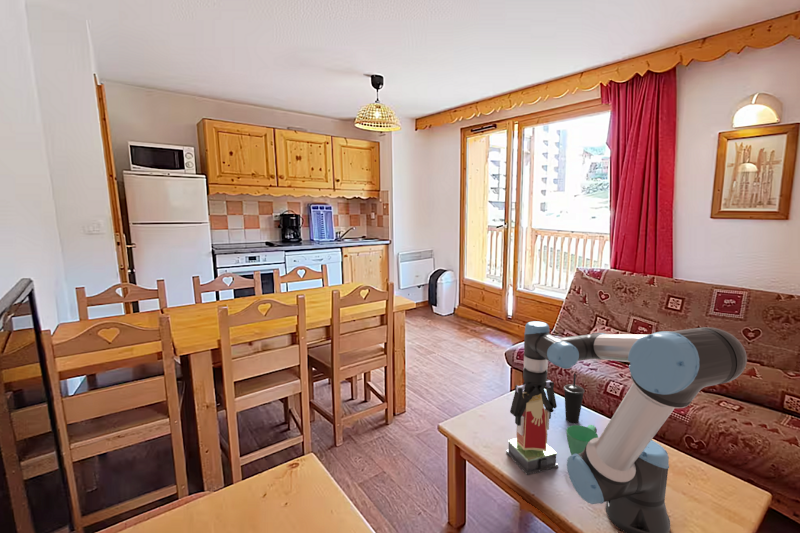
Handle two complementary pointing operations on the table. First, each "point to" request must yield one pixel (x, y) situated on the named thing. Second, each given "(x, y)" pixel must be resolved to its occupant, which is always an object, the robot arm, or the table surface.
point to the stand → (532, 458)
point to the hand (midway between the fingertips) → (532, 430)
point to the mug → (580, 437)
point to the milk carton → (534, 425)
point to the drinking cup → (573, 401)
